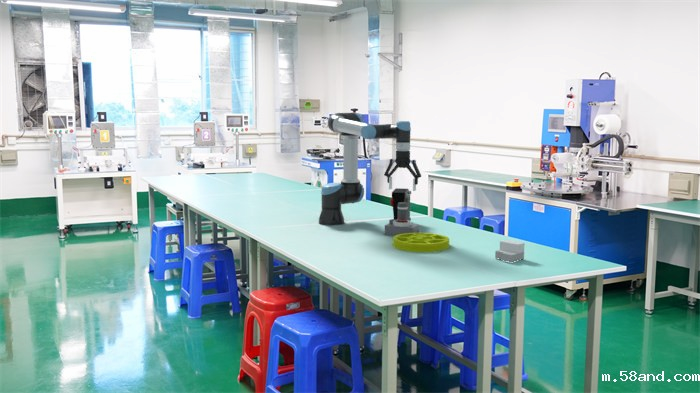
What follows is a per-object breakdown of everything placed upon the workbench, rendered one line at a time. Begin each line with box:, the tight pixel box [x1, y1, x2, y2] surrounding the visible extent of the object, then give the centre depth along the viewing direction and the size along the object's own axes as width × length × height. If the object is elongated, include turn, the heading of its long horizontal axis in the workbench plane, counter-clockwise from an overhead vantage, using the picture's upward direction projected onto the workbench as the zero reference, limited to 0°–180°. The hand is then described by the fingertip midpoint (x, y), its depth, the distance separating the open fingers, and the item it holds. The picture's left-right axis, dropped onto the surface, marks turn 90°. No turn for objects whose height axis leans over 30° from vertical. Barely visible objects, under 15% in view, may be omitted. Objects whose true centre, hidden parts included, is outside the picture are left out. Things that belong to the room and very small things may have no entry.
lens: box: [397, 202, 408, 223], centre depth 339 cm, size 5×5×12 cm
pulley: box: [392, 232, 450, 253], centre depth 313 cm, size 28×28×5 cm
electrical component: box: [390, 188, 412, 222], centre depth 368 cm, size 18×10×20 cm, turn 168°
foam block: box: [494, 239, 525, 263], centre depth 285 cm, size 10×10×8 cm
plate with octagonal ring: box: [384, 218, 420, 237], centre depth 341 cm, size 16×11×7 cm
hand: (402, 189), depth 338 cm, fingers open, 13 cm apart
